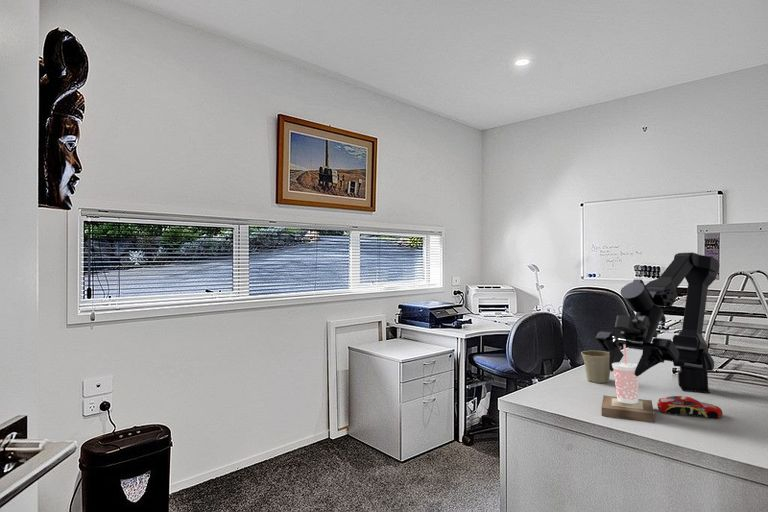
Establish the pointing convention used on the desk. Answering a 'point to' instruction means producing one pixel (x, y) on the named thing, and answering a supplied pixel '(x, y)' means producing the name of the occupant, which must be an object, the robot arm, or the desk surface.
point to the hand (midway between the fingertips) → (622, 372)
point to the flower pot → (597, 366)
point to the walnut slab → (628, 409)
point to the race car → (688, 407)
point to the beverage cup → (626, 381)
